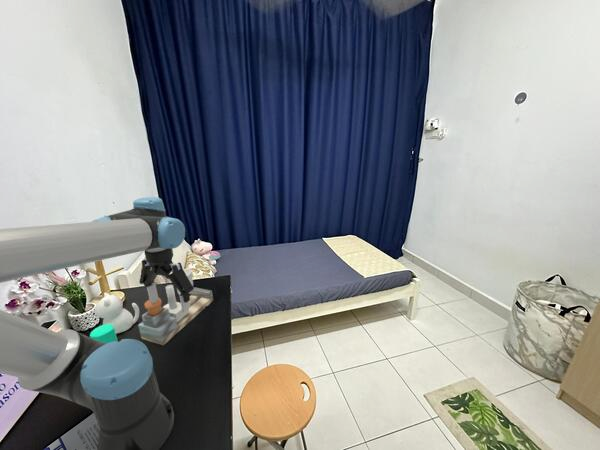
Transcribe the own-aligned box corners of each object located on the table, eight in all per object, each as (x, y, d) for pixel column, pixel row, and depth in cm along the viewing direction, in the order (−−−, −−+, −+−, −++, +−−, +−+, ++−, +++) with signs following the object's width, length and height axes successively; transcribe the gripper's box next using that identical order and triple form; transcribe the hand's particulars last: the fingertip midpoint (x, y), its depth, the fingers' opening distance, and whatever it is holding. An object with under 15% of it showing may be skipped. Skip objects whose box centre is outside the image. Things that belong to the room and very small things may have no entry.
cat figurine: (102, 328, 93) (91, 294, 89) (141, 314, 101) (132, 282, 96) (102, 342, 87) (89, 306, 82) (143, 326, 94) (134, 293, 89)
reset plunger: (156, 325, 84) (152, 307, 82) (145, 322, 86) (140, 304, 84) (168, 316, 89) (164, 299, 87) (157, 313, 90) (153, 296, 88)
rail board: (163, 345, 85) (157, 321, 82) (141, 338, 88) (135, 315, 85) (213, 300, 109) (210, 280, 106) (194, 296, 112) (191, 277, 109)
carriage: (177, 322, 91) (171, 292, 88) (160, 317, 94) (154, 289, 90) (189, 312, 97) (183, 284, 93) (173, 308, 99) (167, 280, 95)
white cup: (176, 289, 118) (173, 271, 115) (194, 285, 121) (191, 267, 118) (176, 298, 111) (172, 278, 108) (195, 293, 114) (192, 274, 111)
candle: (109, 365, 77) (99, 334, 74) (93, 362, 79) (83, 331, 75) (125, 350, 83) (117, 320, 79) (110, 347, 84) (101, 318, 80)
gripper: (199, 247, 76) (208, 305, 82) (139, 239, 83) (151, 293, 90) (180, 257, 69) (192, 320, 76) (117, 247, 77) (132, 305, 83)
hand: (170, 305), depth 83 cm, fingers open, 13 cm apart
